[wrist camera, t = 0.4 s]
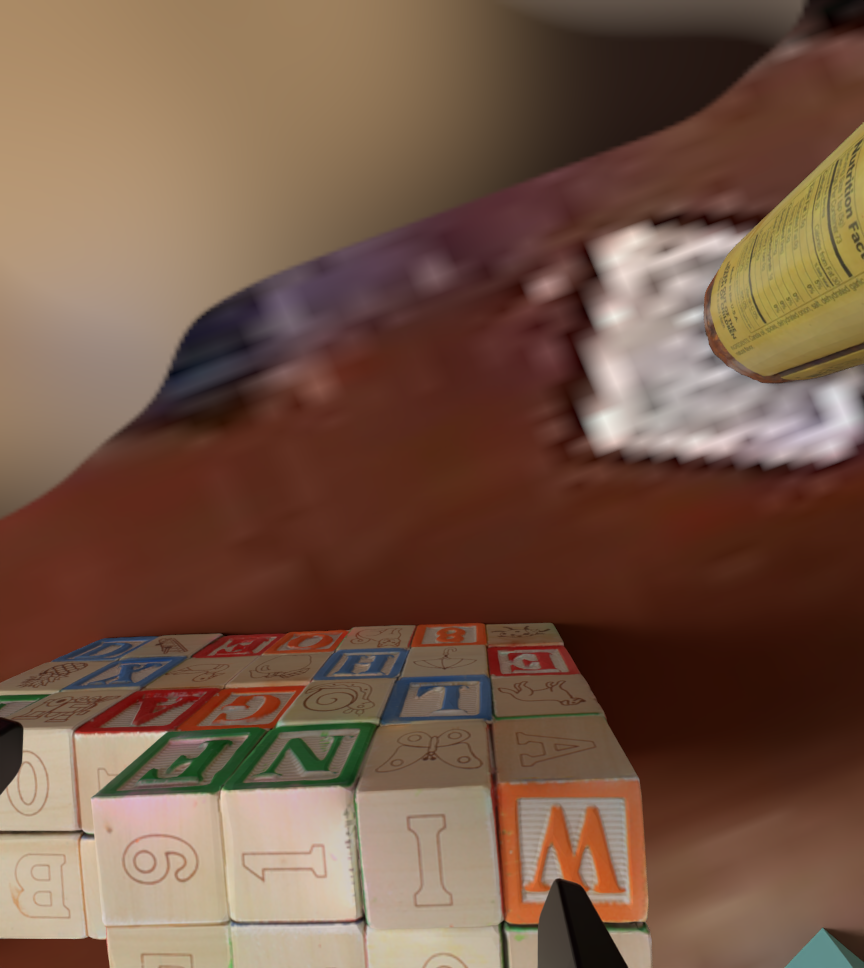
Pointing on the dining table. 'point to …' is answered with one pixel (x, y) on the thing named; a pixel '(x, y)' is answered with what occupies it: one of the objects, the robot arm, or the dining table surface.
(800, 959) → the teal block
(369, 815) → the stack of blocks
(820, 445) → the dining table surface
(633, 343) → the dining table surface
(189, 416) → the dining table surface
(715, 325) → the sauce bottle
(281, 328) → the dining table surface
